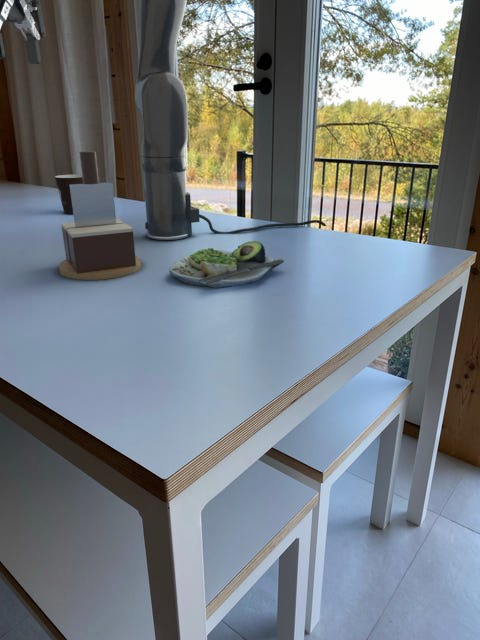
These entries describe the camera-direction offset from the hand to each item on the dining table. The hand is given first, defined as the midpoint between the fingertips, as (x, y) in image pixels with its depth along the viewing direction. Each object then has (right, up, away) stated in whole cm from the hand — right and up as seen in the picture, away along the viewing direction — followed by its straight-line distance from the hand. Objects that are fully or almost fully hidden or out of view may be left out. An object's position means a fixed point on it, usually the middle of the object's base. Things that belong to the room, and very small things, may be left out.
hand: (17, 61), depth 83 cm
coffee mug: (-8, -14, +53) cm, 56 cm away
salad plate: (+37, -37, -1) cm, 52 cm away
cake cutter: (+14, -29, -1) cm, 32 cm away
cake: (+14, -36, +1) cm, 39 cm away
